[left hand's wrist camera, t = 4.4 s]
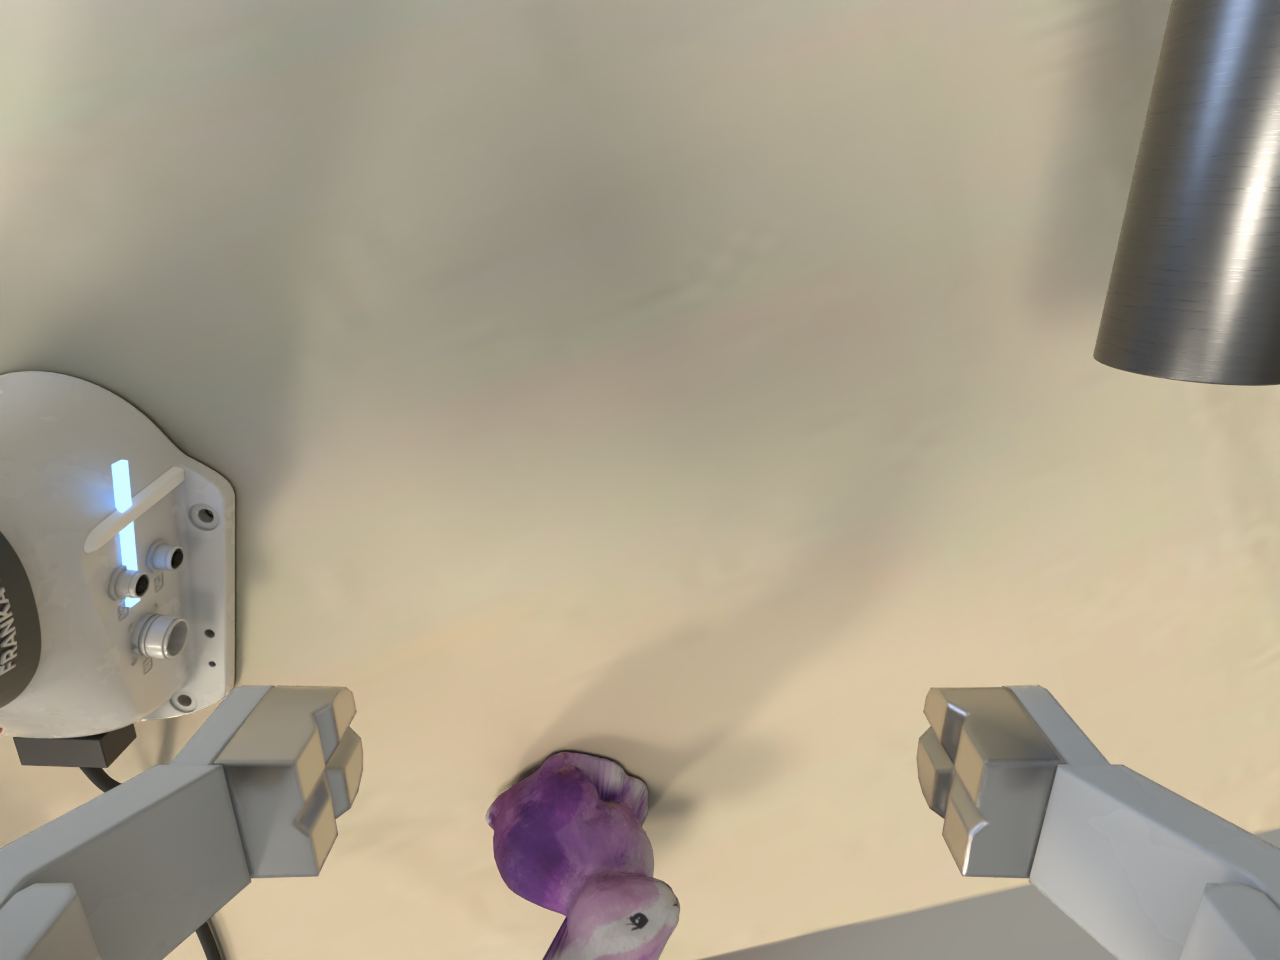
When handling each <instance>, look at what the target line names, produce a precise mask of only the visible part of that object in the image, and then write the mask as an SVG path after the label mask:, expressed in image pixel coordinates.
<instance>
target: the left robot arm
mask: <svg viewBox="0 0 1280 960" xmlns="http://www.w3.org/2000/svg"><path fill="white" fill-rule="evenodd" d="M205 509H208V510H210V511H211V512H212V514H213V516H214V518H212V517H210V516H208V515H207V513H206V511H205ZM234 680H235V494H234V490H233V488H232V486H231V485H230V483H229V482H228V481H227V480H226V479H225V478H224V477H223V476H221V475H220V474H219V473H217V472H215V471H214V470H212V469H211V468H209V467H207V466H205V465H203V464H202V463H200V462H198V461H196V460H194V459H192V458H190V457H188V456H186V455H185V454H184V453H183V452H181V451H180V450H179V449H178V448H177V447H176V446H175V445H174V444H173V443H172V442H171V441H170V440H169V439H168V438H167V437H166V436H165V435H164V434H163V433H162V432H161V431H160V430H159V428H158V427H157V426H156V425H155V424H154V423H153V422H152V421H150V420H149V419H148V418H147V417H146V416H145V415H144V414H143V413H141V412H140V411H139V410H138V409H136V408H135V407H134V406H132V405H131V404H129V403H128V402H127V401H125V400H124V399H122V398H120V397H119V396H117V395H115V394H114V393H112V392H110V391H108V390H106V389H104V388H102V387H100V386H98V385H95V384H93V383H90V382H88V381H85V380H82V379H79V378H76V377H72V376H68V375H64V374H59V373H53V372H44V371H21V372H13V373H8V374H3V375H0V735H5V736H12V737H13V739H14V743H15V746H16V749H17V752H18V755H19V758H20V761H21V764H22V765H32V766H62V767H80V769H81V770H82V771H83V772H84V773H85V775H86V776H87V777H88V778H89V779H90V780H91V781H92V782H93V783H94V784H95V785H96V786H97V787H98V788H99V789H101V790H102V791H103V792H105V793H103V794H102V795H100V796H98V797H96V798H94V799H92V800H90V801H88V802H87V803H85V804H83V805H81V806H79V807H77V808H75V809H73V810H72V811H70V812H68V813H66V814H64V815H62V816H60V817H58V818H57V819H55V820H53V821H51V822H49V823H47V824H45V825H43V826H41V827H40V828H38V829H36V830H34V831H32V832H30V833H28V834H26V835H25V836H23V837H21V838H19V839H17V840H15V841H13V842H11V843H10V844H8V845H6V846H4V847H2V848H0V960H162V959H163V958H165V957H166V956H167V955H168V954H169V953H170V952H171V951H173V950H174V949H175V948H176V947H177V946H178V945H179V944H181V943H182V942H183V941H184V940H185V939H186V938H187V937H189V936H190V935H191V934H192V933H193V932H194V931H196V933H197V935H198V938H199V940H200V942H201V945H202V947H203V950H204V952H205V955H206V957H207V960H221V957H220V954H219V951H218V948H217V946H216V943H215V941H214V938H213V936H212V933H211V931H210V928H209V926H208V924H207V922H206V921H207V920H208V919H209V918H210V917H212V916H213V915H214V914H215V913H216V912H217V911H218V910H220V909H221V908H222V907H223V906H224V905H225V904H226V903H228V902H229V901H230V900H231V899H232V898H233V897H234V896H236V895H237V894H238V893H239V892H240V891H241V890H243V889H244V888H245V887H246V886H247V885H248V884H249V883H251V878H275V877H309V876H318V875H319V873H320V871H321V869H322V867H323V864H324V862H325V860H326V858H327V856H328V854H329V852H330V850H331V848H332V846H333V844H334V842H335V840H336V838H337V836H338V832H337V826H336V820H335V819H336V818H338V817H339V816H341V815H342V814H343V813H345V812H346V811H347V810H349V809H350V808H351V806H352V804H353V802H354V799H355V797H356V795H357V793H358V790H359V785H360V781H361V776H362V771H363V749H362V742H361V738H360V737H359V736H358V735H357V734H356V733H355V732H354V731H353V730H352V729H351V728H350V727H349V725H350V723H351V721H352V720H353V718H354V716H355V714H356V712H357V711H356V706H355V702H354V697H353V692H352V691H350V690H349V689H348V688H347V687H324V686H279V685H278V686H272V685H242V686H240V687H237V688H234V689H233V687H234ZM232 689H233V690H232ZM231 690H232V691H231ZM230 691H231V692H230ZM229 692H230V693H229ZM228 693H229V694H228ZM227 694H228V695H227ZM186 695H187V696H189V697H190V698H191V699H190V698H188V697H187V696H186ZM226 695H227V697H226V698H225V699H224V700H223V701H222V703H221V704H220V705H219V706H218V707H217V708H216V710H215V711H214V712H213V713H212V714H211V716H210V717H209V718H208V719H207V720H206V722H205V723H204V724H203V725H202V726H201V727H200V729H199V730H198V731H197V732H196V733H195V735H194V736H193V737H192V738H191V739H190V740H189V742H188V743H187V744H186V745H185V746H184V748H183V749H182V750H181V751H180V752H179V754H178V755H177V756H176V757H175V758H174V759H173V761H172V762H171V763H170V764H169V765H156V766H154V767H152V768H150V769H149V770H147V771H145V772H143V773H141V774H139V775H137V776H135V777H134V778H132V779H130V780H128V781H126V782H124V783H122V784H121V783H119V782H117V781H115V780H113V779H112V778H111V777H109V776H108V775H107V774H106V772H105V771H104V770H103V769H102V768H108V767H109V766H110V765H111V764H112V763H113V761H114V760H115V759H116V758H117V757H118V756H119V755H120V754H121V753H122V752H123V751H124V750H125V749H126V748H127V747H128V746H129V744H130V743H131V742H132V741H133V740H134V739H135V738H136V733H135V728H134V724H133V723H135V722H137V721H145V720H157V719H166V718H173V717H178V716H183V715H187V714H190V713H194V712H197V711H199V710H202V709H205V708H207V707H209V706H211V705H213V704H215V703H216V702H218V701H219V700H221V699H222V698H224V697H225V696H226ZM923 712H924V714H925V716H926V718H927V719H928V721H929V723H930V725H931V727H930V728H929V729H928V730H927V731H926V732H925V733H924V734H923V735H922V736H921V737H920V738H919V743H918V751H917V768H918V778H919V782H920V785H921V789H922V793H923V795H924V797H925V799H926V802H927V804H928V806H929V808H930V809H931V810H933V811H934V812H935V813H937V814H938V815H939V816H941V817H942V818H944V819H945V820H944V826H943V832H942V836H943V838H944V840H945V842H946V844H947V846H948V848H949V850H950V852H951V854H952V856H953V858H954V860H955V862H956V864H957V866H958V868H959V870H960V873H961V875H962V876H969V877H1004V878H1029V882H1030V883H1031V884H1032V885H1033V886H1034V887H1036V888H1037V889H1038V890H1039V891H1040V892H1041V893H1042V894H1044V895H1045V896H1046V897H1047V898H1048V899H1049V900H1050V901H1052V902H1053V903H1054V904H1055V905H1056V906H1057V907H1058V908H1060V909H1061V910H1062V911H1063V912H1064V913H1065V914H1066V915H1068V916H1069V917H1070V918H1071V919H1072V920H1073V921H1075V922H1076V923H1077V924H1078V925H1079V926H1080V927H1081V928H1083V929H1084V930H1085V931H1086V932H1087V933H1088V934H1089V935H1091V936H1092V937H1093V938H1094V939H1095V940H1096V941H1097V942H1099V943H1100V944H1101V945H1102V946H1103V947H1104V948H1105V949H1107V950H1108V951H1109V952H1110V953H1111V954H1112V955H1113V956H1115V957H1116V958H1117V959H1118V960H1280V849H1279V848H1278V847H1276V846H1274V845H1272V844H1270V843H1268V842H1266V841H1264V840H1263V839H1261V838H1259V837H1257V836H1255V835H1253V834H1251V833H1249V832H1248V831H1246V830H1244V829H1242V828H1240V827H1238V826H1236V825H1234V824H1233V823H1231V822H1229V821H1227V820H1225V819H1223V818H1221V817H1219V816H1218V815H1216V814H1214V813H1212V812H1210V811H1208V810H1206V809H1205V808H1203V807H1201V806H1199V805H1197V804H1195V803H1193V802H1191V801H1190V800H1188V799H1186V798H1184V797H1182V796H1180V795H1178V794H1176V793H1175V792H1173V791H1171V790H1169V789H1167V788H1165V787H1163V786H1161V785H1160V784H1158V783H1156V782H1154V781H1152V780H1150V779H1148V778H1146V777H1145V776H1143V775H1141V774H1139V773H1137V772H1135V771H1133V770H1131V769H1130V768H1128V767H1126V766H1124V765H1111V764H1110V763H1109V762H1108V761H1107V759H1106V758H1105V757H1104V756H1103V755H1102V754H1101V752H1100V751H1099V750H1098V749H1097V748H1096V746H1095V745H1094V744H1093V743H1092V742H1091V741H1090V739H1089V738H1088V737H1087V736H1086V735H1085V733H1084V732H1083V731H1082V730H1081V729H1080V728H1079V726H1078V725H1077V724H1076V723H1075V722H1074V720H1073V719H1072V718H1071V717H1070V716H1069V714H1068V713H1067V712H1066V711H1065V710H1064V709H1063V707H1062V706H1061V705H1060V704H1059V703H1058V701H1057V700H1056V699H1055V698H1054V697H1053V696H1052V694H1051V693H1050V692H1049V691H1048V690H1047V689H1046V688H1044V687H1042V686H1040V685H1020V686H1002V687H957V688H930V690H929V692H928V694H927V696H926V700H925V706H924V711H923Z"/></svg>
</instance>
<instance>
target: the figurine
mask: <svg viewBox="0 0 1280 960" xmlns="http://www.w3.org/2000/svg"><path fill="white" fill-rule="evenodd" d="M647 800H648V790H647V788H646V785H645V784H644V783H643V782H642V781H641V780H640V779H636V778H634V777H631V776H628V775H627V774H626V773H625V772H624V770H623V768H622V767H621V766H619V765H618V764H617V763H615V762H614V761H613V762H611V761H609V760H607V759H604V758H598V757H597V756H596V757H594V756H590V755H586V754H578V753H571V752H560V753H558V754H553V755H551V756H550V757H549V758H548V759H546V760H545V761H544V762H543V764H542V765H541V767H540V768H539V769H538V770H536V771H535V772H534V773H533V774H531V775H530V776H528V777H526V778H525V779H523V780H521V781H520V782H518V783H517V784H515V785H514V786H513V787H511V788H510V789H508V790H507V791H505V792H504V793H502V794H501V795H500V796H499V797H498V798H497V799H496V800H495V801H494V802H493V803H492V804H491V806H490V807H489V809H488V811H487V814H486V821H487V823H488V825H489V826H490V827H491V828H493V829H494V837H493V848H494V858H495V861H496V864H497V867H498V870H499V872H500V874H501V877H502V879H503V880H504V882H505V883H506V885H507V886H508V888H509V889H510V890H512V891H513V892H514V893H516V894H517V895H519V896H521V897H522V898H524V899H526V900H528V901H530V902H532V903H534V904H537V905H539V906H541V907H543V908H546V909H549V910H551V911H555V912H558V913H561V914H563V915H565V916H566V918H565V920H564V922H563V923H562V925H561V927H560V929H559V931H558V933H557V934H556V936H555V938H554V940H553V942H552V943H551V945H550V947H549V949H548V951H547V952H546V954H545V956H544V958H543V960H658V959H659V957H660V955H661V953H662V951H663V949H664V947H665V945H666V943H667V941H668V939H669V937H670V935H671V934H672V932H673V931H674V929H675V928H676V926H677V924H678V921H679V913H680V904H679V901H678V899H677V897H676V896H675V894H674V893H673V891H672V889H671V887H670V886H669V885H668V884H666V883H665V882H663V881H661V880H658V879H656V878H653V872H654V858H653V850H652V846H651V843H650V841H649V838H648V836H647V835H646V832H645V831H644V829H643V828H642V825H643V823H644V821H645V819H646V816H647V815H648V807H647V806H648V804H647V803H648V801H647Z"/></svg>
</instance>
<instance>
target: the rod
mask: <svg viewBox="0 0 1280 960" xmlns="http://www.w3.org/2000/svg"><path fill="white" fill-rule="evenodd" d="M1093 356H1094V359H1095V360H1097V361H1098V362H1100V363H1102V364H1105V365H1107V366H1110V367H1113V368H1116V369H1120V370H1123V371H1128V372H1132V373H1137V374H1142V375H1147V376H1153V377H1158V378H1165V379H1172V380H1180V381H1188V382H1197V383H1208V384H1222V385H1245V386H1262V385H1279V384H1280V0H1172V4H1171V8H1170V13H1169V17H1168V22H1167V26H1166V31H1165V35H1164V40H1163V44H1162V49H1161V53H1160V58H1159V62H1158V67H1157V71H1156V76H1155V80H1154V85H1153V89H1152V94H1151V98H1150V103H1149V107H1148V112H1147V116H1146V121H1145V125H1144V130H1143V134H1142V139H1141V143H1140V148H1139V152H1138V157H1137V161H1136V166H1135V170H1134V175H1133V179H1132V184H1131V188H1130V193H1129V197H1128V202H1127V206H1126V211H1125V215H1124V220H1123V224H1122V229H1121V233H1120V238H1119V242H1118V247H1117V251H1116V256H1115V260H1114V265H1113V269H1112V274H1111V278H1110V283H1109V287H1108V292H1107V296H1106V301H1105V305H1104V310H1103V314H1102V319H1101V323H1100V328H1099V332H1098V337H1097V341H1096V346H1095V350H1094V355H1093Z"/></svg>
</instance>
